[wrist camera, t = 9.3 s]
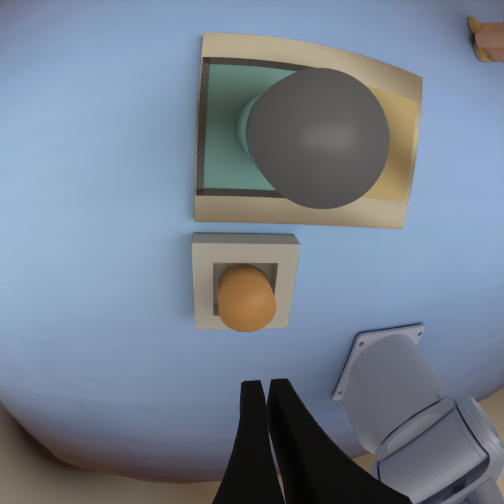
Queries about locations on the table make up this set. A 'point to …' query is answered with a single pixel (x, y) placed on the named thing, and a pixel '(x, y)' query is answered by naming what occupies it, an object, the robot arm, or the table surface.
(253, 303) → the button
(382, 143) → the green grey cylinder
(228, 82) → the picture board
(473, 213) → the table surface
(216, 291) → the button housing
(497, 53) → the grandmother figurine
